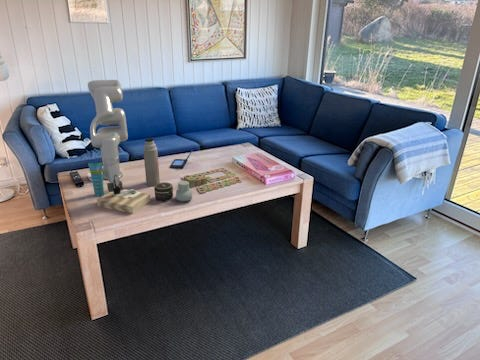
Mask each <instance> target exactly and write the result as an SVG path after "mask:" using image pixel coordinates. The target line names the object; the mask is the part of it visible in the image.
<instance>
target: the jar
mask: <svg viewBox="0 0 480 360" xmlns="http://www.w3.org/2000/svg"><path fill="white" fill-rule="evenodd" d="M153 187H154V188H153V189H154V198H155V199H156V200H157V201H158V202H169V201H171V200H172V199H173V196H174V187H173V184H172V183H171V182H160V183H158V184H156V185H155V186H153Z"/></svg>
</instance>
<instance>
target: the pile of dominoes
mask: <svg viewBox="0 0 480 360" xmlns="http://www.w3.org/2000/svg"><path fill="white" fill-rule="evenodd" d="M221 172H222V173H224V175H221V176H217V177H213V178H212V177H211V176H208V175H212V174H215V173H221ZM225 173H226V174H225ZM180 178H181V181H188V182H189V188H190V189H193V188H196V187H197V188H196V189H197V192H198V194H200V195H201V194H206V193H207V192H212V191H214V190H215V191H216V190H219V189H224V188H225V187H231V185H236V184H238V183H243V182H242V179H241V177H240V176H237V174H236V173H233V172H232V171H231V170H229V169H226V168H225V167H219V168H215V169H211V170H207V171H203V172H198V173H194V174H187V175H183V176H182V177H180ZM208 182H209V184H208Z"/></svg>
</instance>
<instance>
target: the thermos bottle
mask: <svg viewBox="0 0 480 360" xmlns="http://www.w3.org/2000/svg"><path fill="white" fill-rule="evenodd" d="M144 141H145V143H144V145H143V162H144V172H145V183H146V185H147V186H149V187H154V186H155V185H156V184H158V183H161V181H160V180H161V179H160V165H159V155H158V154H159V153H158V147H157V144H156V143H155V139H154V138H153V137H147V138H145V139H144Z"/></svg>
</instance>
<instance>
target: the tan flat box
mask: <svg viewBox="0 0 480 360" xmlns="http://www.w3.org/2000/svg"><path fill="white" fill-rule="evenodd" d="M127 190H132V189H131V188H128V189H126V188H123V190H120V192H121V191H127ZM150 202H151V194H150V193H145V192H141V191H137V190H135V189H134V191H130V192H125V193H120V194H118V195H117V196H114V194H113V192H109V191H108V192H107V193H104V194H103V195H102V196H99V198H97V199H96V203H97V207H100V208H105V209H110V210H114V211H119V212H124V213H127V214H128V213H129V214H134V213H136V212H138V211H139V210H140V209H141V208H143V207H144V206H146V205H148V203H150Z"/></svg>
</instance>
